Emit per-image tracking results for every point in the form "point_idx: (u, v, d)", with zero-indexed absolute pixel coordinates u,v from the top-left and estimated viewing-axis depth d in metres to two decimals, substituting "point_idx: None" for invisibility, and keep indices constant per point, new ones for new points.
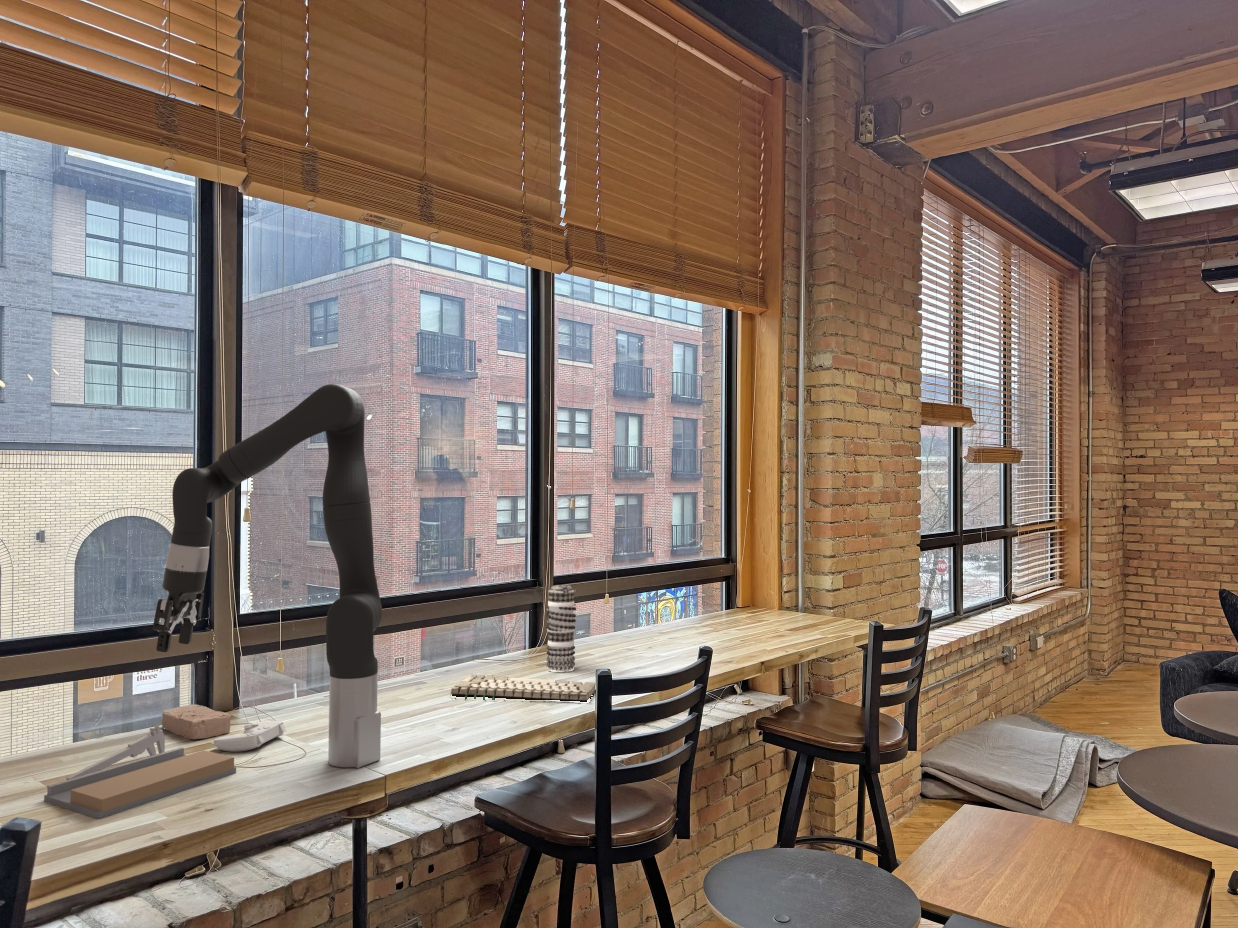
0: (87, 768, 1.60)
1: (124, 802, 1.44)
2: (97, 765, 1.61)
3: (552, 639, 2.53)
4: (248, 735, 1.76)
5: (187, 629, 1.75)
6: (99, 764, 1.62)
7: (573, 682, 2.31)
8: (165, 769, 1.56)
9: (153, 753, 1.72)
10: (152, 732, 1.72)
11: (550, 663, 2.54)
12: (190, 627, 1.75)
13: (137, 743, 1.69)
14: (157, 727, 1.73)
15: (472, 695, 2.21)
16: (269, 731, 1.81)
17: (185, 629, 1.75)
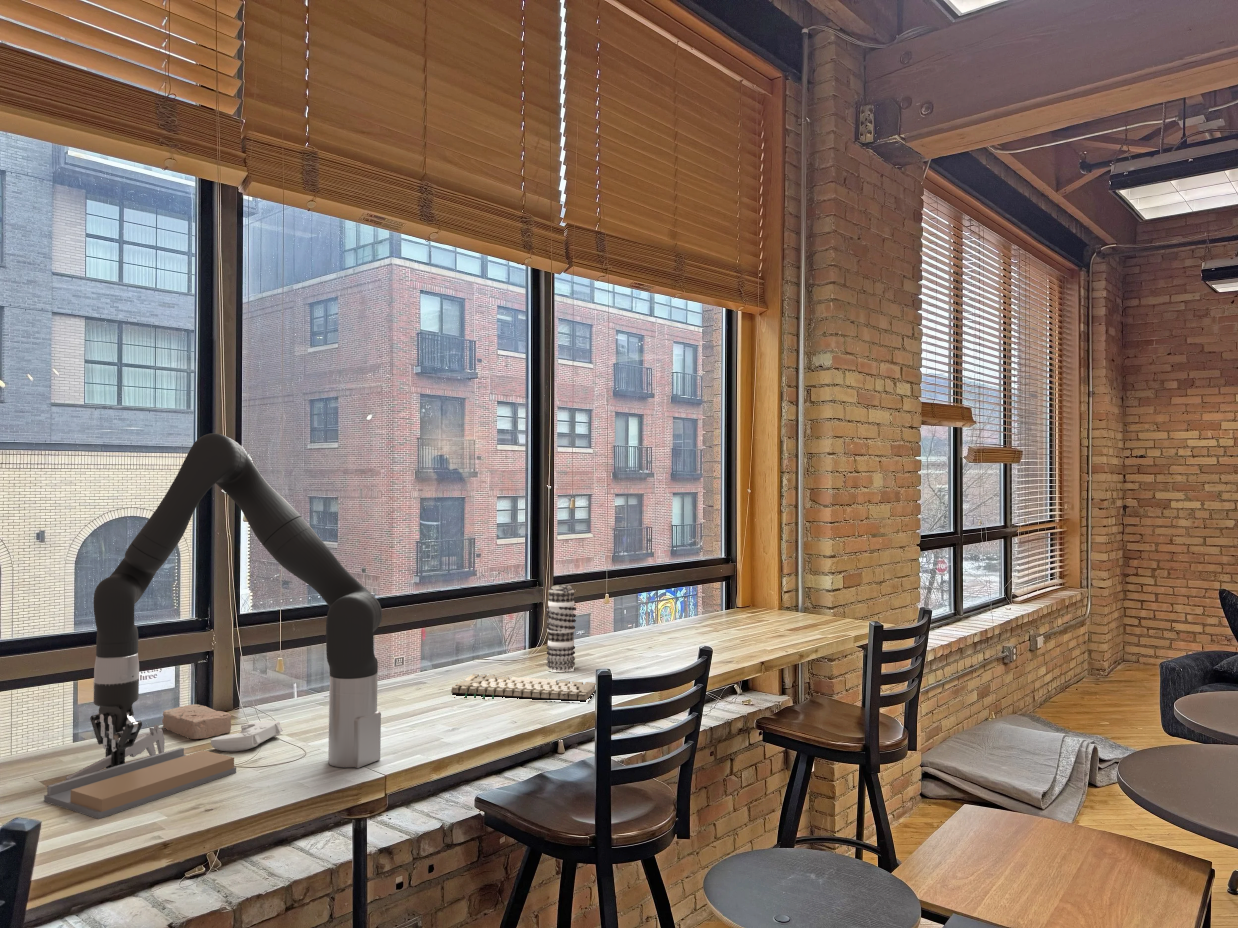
0: (86, 768, 1.60)
1: (124, 802, 1.44)
2: (96, 765, 1.61)
3: (552, 639, 2.53)
4: (245, 735, 1.76)
5: None
6: (98, 764, 1.62)
7: (573, 682, 2.31)
8: (165, 769, 1.56)
9: (153, 753, 1.72)
10: (152, 732, 1.72)
11: (550, 663, 2.54)
12: None
13: (137, 743, 1.69)
14: (157, 727, 1.73)
15: (472, 694, 2.22)
16: (266, 731, 1.81)
17: None
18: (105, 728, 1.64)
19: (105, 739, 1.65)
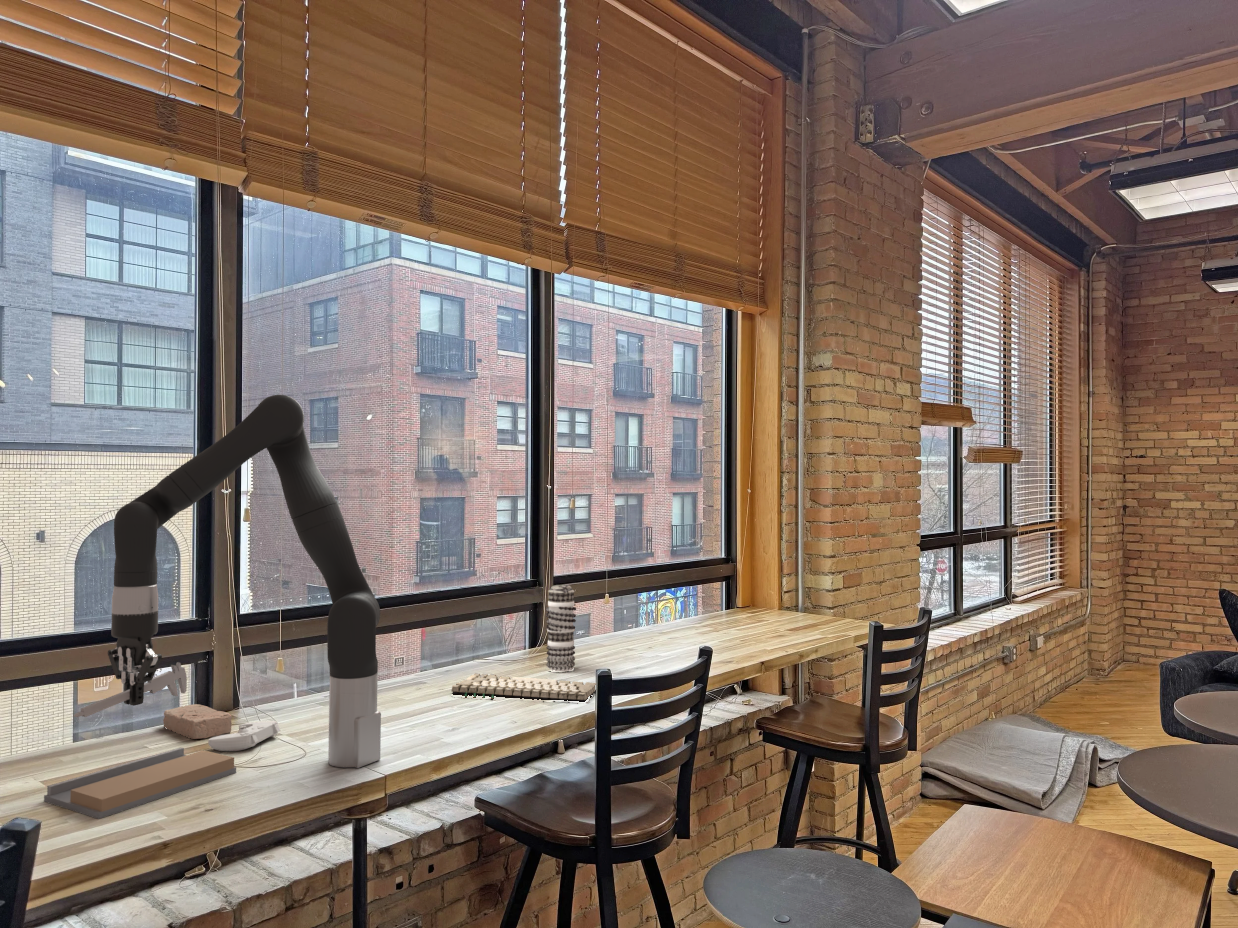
0: (103, 700, 1.53)
1: (124, 802, 1.44)
2: (113, 698, 1.54)
3: (552, 639, 2.53)
4: (242, 735, 1.76)
5: None
6: (115, 697, 1.55)
7: (574, 682, 2.31)
8: (165, 769, 1.56)
9: (174, 691, 1.65)
10: (173, 669, 1.65)
11: (550, 663, 2.54)
12: None
13: (157, 679, 1.62)
14: (178, 664, 1.66)
15: (472, 693, 2.23)
16: (263, 731, 1.81)
17: None
18: (123, 661, 1.57)
19: (124, 673, 1.58)
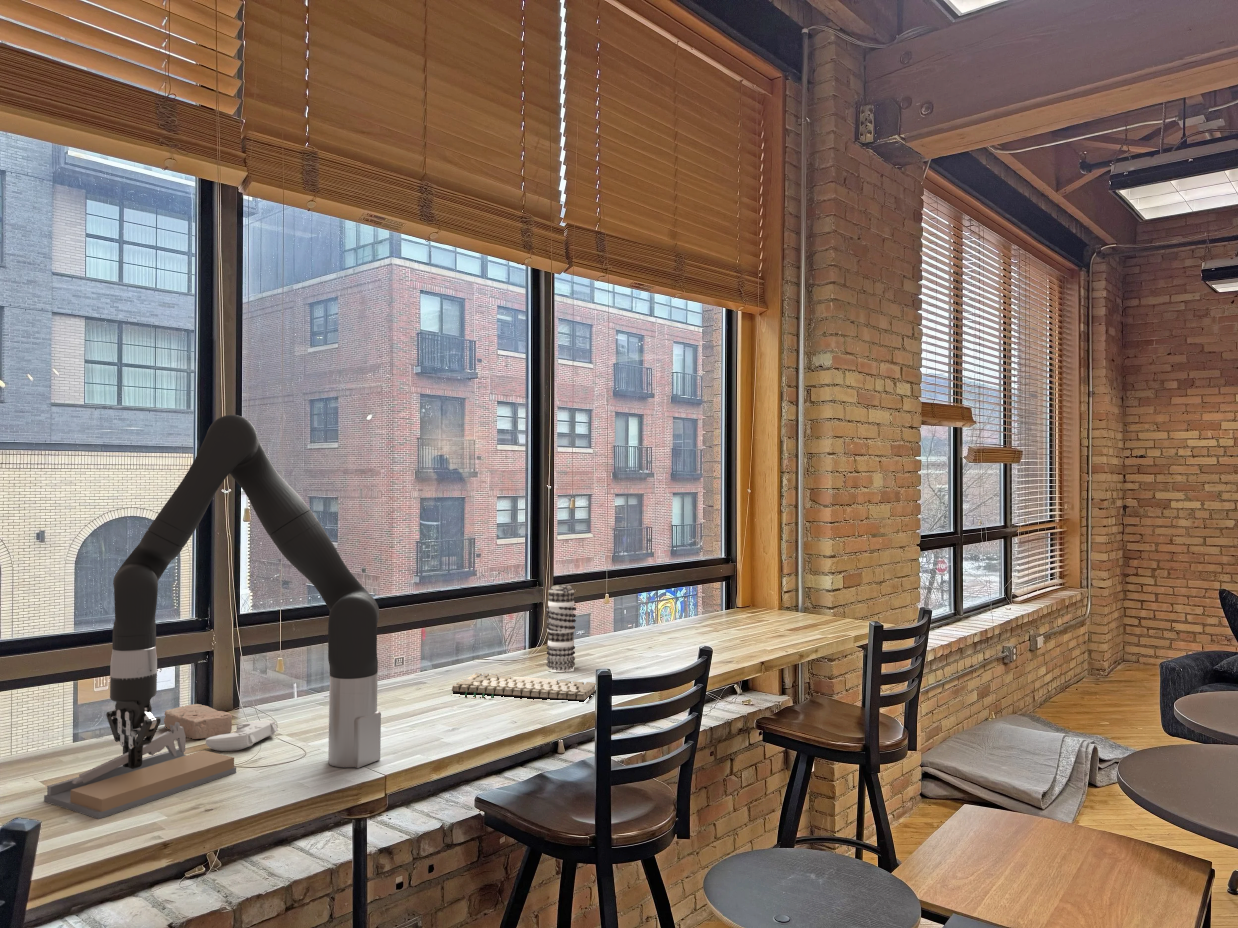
0: (101, 765, 1.53)
1: (124, 802, 1.44)
2: (112, 762, 1.54)
3: (552, 639, 2.53)
4: (240, 734, 1.76)
5: None
6: (114, 761, 1.54)
7: (574, 682, 2.31)
8: (165, 769, 1.56)
9: (173, 751, 1.64)
10: (172, 729, 1.65)
11: (550, 663, 2.54)
12: None
13: (155, 740, 1.61)
14: (177, 724, 1.65)
15: (472, 693, 2.23)
16: (261, 730, 1.81)
17: None
18: (122, 724, 1.57)
19: (122, 736, 1.57)
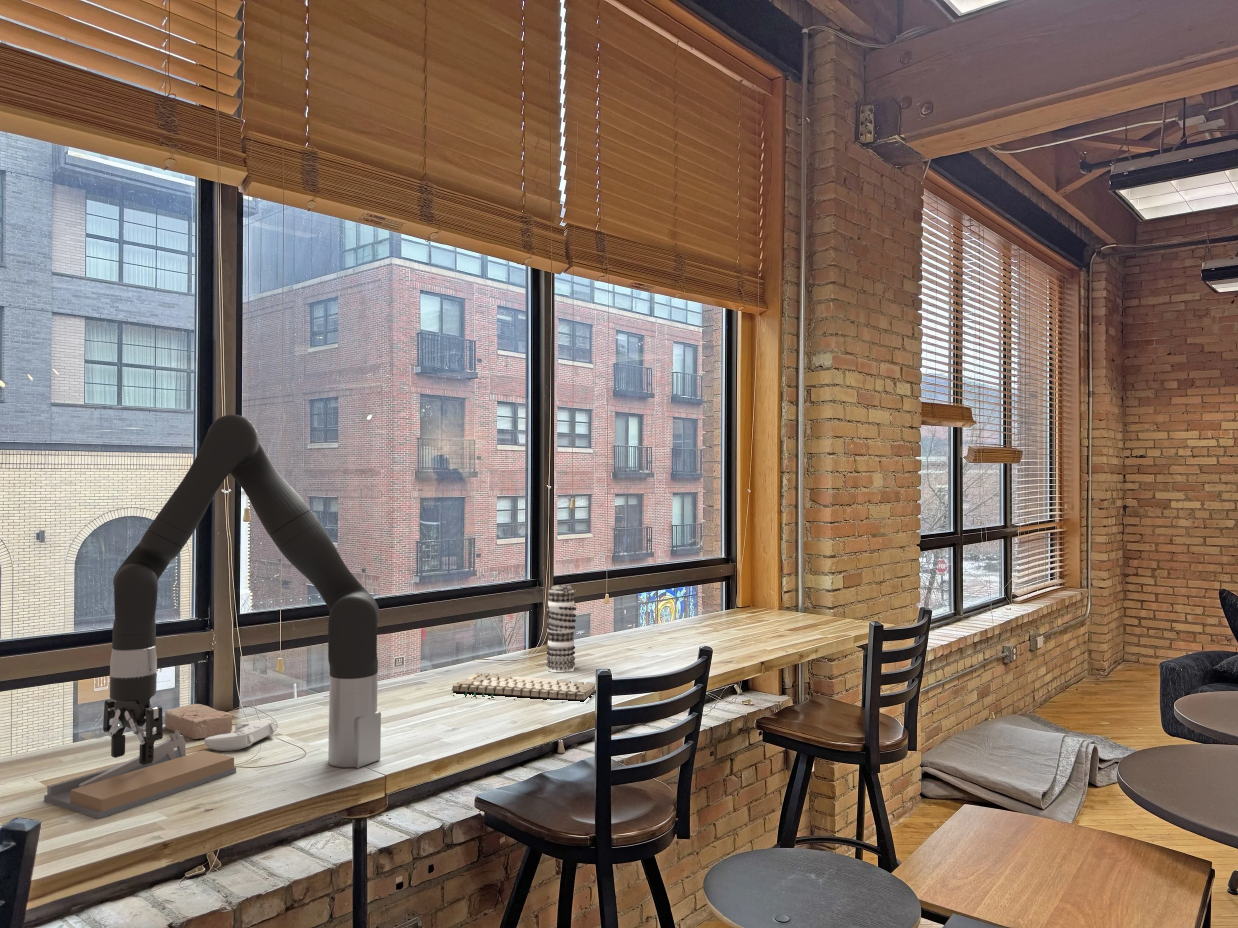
0: (101, 775, 1.53)
1: (124, 802, 1.44)
2: (111, 772, 1.54)
3: (552, 639, 2.53)
4: (238, 734, 1.77)
5: (121, 740, 1.60)
6: (114, 771, 1.54)
7: (574, 682, 2.31)
8: (165, 769, 1.56)
9: None
10: (172, 737, 1.64)
11: (550, 663, 2.54)
12: (124, 736, 1.60)
13: (155, 749, 1.61)
14: (177, 732, 1.65)
15: (472, 692, 2.24)
16: (260, 730, 1.81)
17: (118, 740, 1.60)
18: (117, 722, 1.58)
19: (111, 727, 1.59)
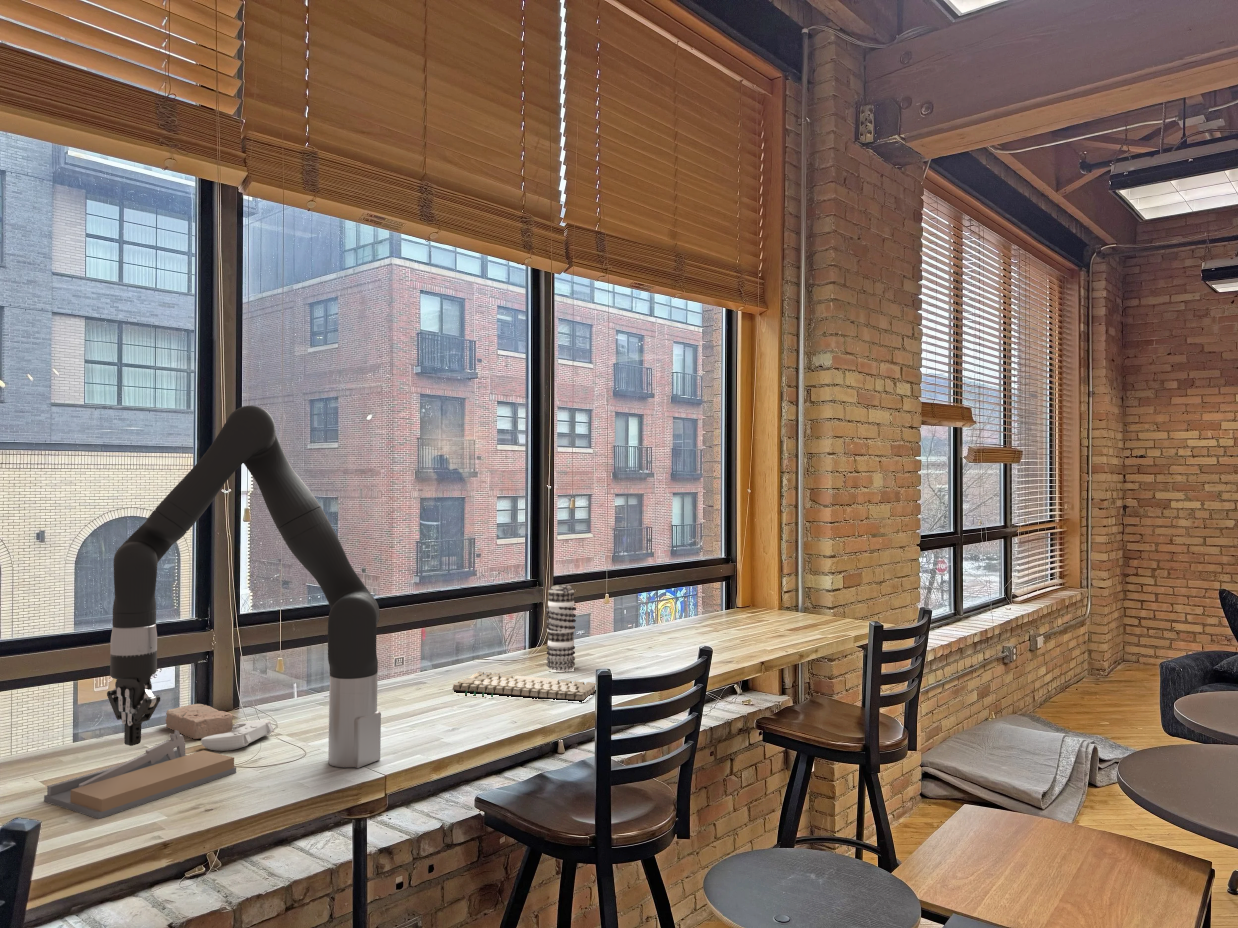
0: (101, 775, 1.53)
1: (124, 802, 1.44)
2: (111, 772, 1.54)
3: (552, 639, 2.53)
4: (235, 734, 1.77)
5: None
6: (114, 771, 1.54)
7: (575, 682, 2.31)
8: (165, 769, 1.56)
9: None
10: (172, 737, 1.64)
11: (550, 663, 2.54)
12: None
13: (155, 749, 1.61)
14: (177, 732, 1.65)
15: (473, 692, 2.25)
16: (256, 730, 1.81)
17: None
18: (123, 702, 1.57)
19: (124, 714, 1.57)
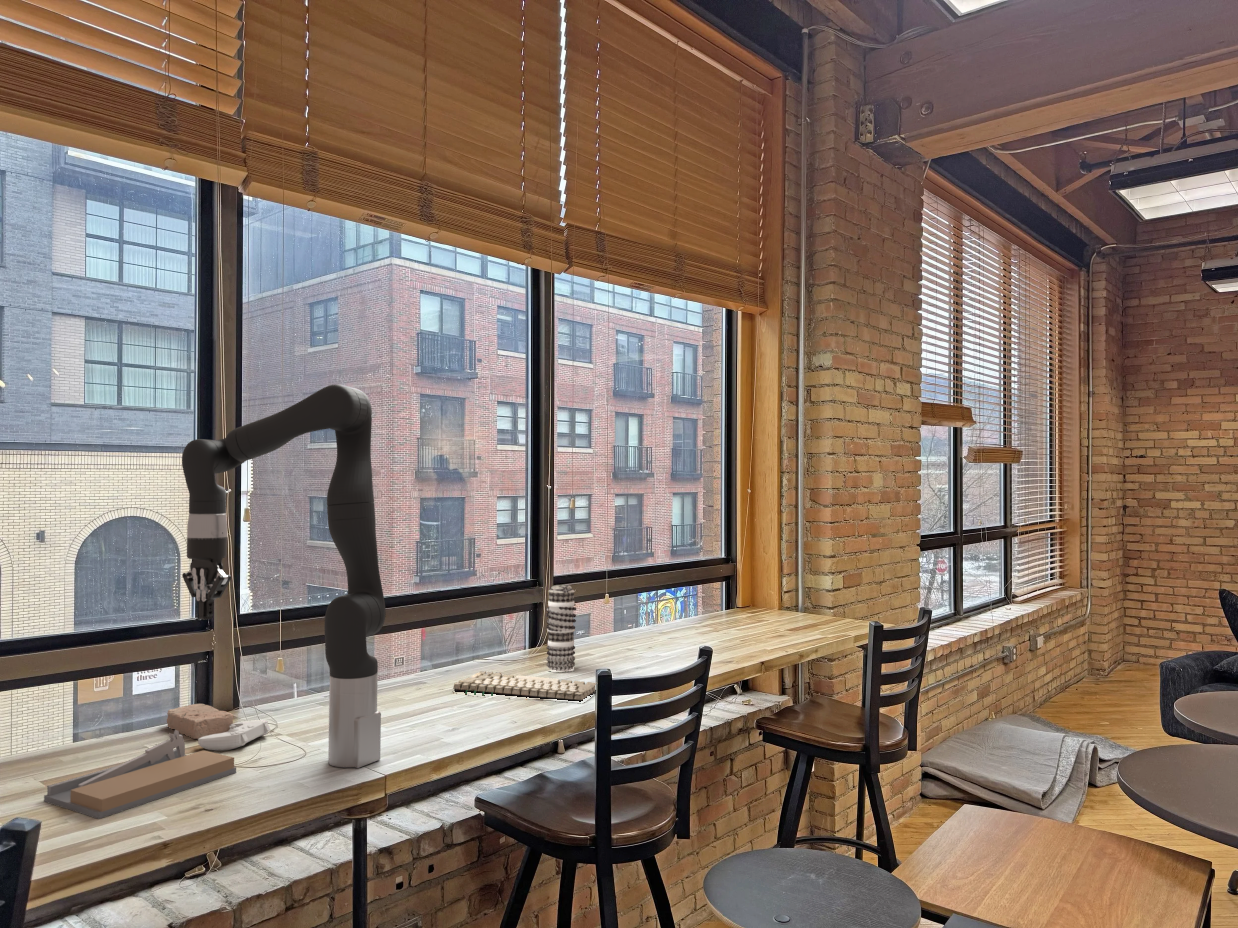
0: (100, 775, 1.53)
1: (124, 802, 1.44)
2: (111, 772, 1.54)
3: (552, 639, 2.53)
4: (232, 734, 1.77)
5: None
6: (113, 771, 1.54)
7: (575, 682, 2.31)
8: (165, 769, 1.56)
9: (172, 759, 1.64)
10: (171, 737, 1.64)
11: (550, 663, 2.54)
12: None
13: (155, 749, 1.61)
14: (176, 732, 1.65)
15: (473, 691, 2.26)
16: (253, 730, 1.82)
17: None
18: (198, 581, 1.77)
19: (198, 591, 1.77)
